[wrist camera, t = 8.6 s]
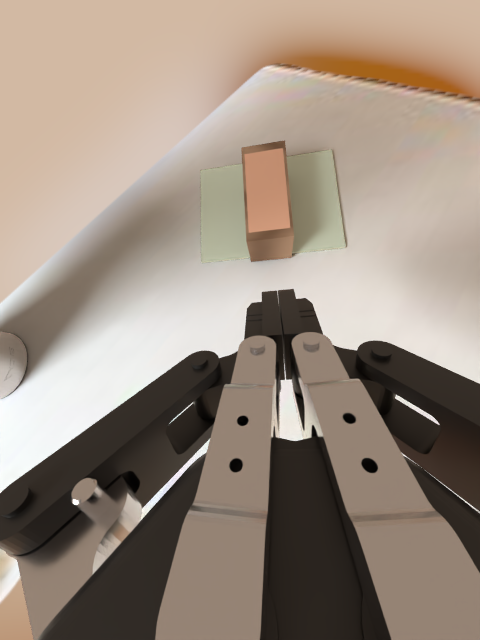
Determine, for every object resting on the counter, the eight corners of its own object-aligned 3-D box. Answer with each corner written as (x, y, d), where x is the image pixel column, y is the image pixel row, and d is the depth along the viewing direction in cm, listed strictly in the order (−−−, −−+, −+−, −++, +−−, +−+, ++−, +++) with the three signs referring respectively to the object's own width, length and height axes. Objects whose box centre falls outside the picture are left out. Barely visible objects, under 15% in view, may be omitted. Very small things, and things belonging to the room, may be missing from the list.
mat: (202, 263, 33) (201, 261, 32) (201, 172, 35) (200, 170, 35) (344, 248, 30) (345, 246, 30) (331, 152, 33) (331, 149, 33)
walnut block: (246, 241, 26) (241, 147, 29) (251, 261, 31) (246, 179, 34) (294, 235, 26) (284, 140, 28) (291, 257, 30) (283, 174, 33)
